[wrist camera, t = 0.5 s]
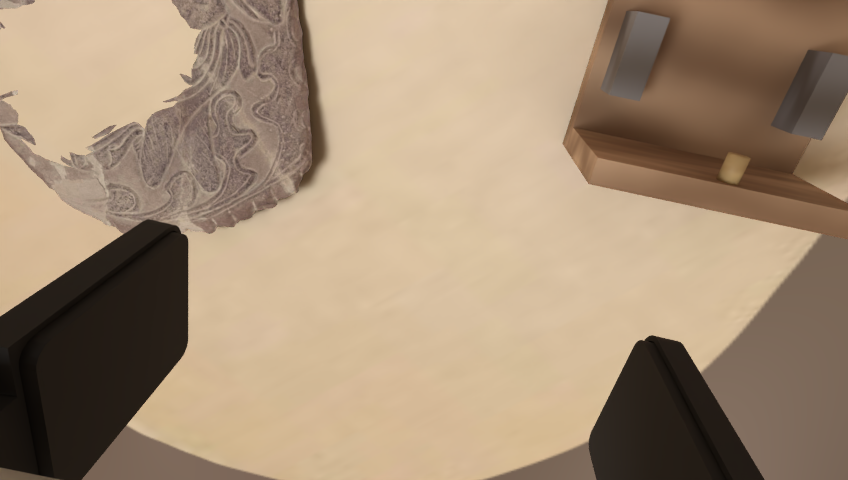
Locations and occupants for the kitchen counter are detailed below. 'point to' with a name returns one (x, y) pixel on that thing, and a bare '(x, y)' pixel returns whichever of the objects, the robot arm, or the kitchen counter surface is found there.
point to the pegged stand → (715, 105)
